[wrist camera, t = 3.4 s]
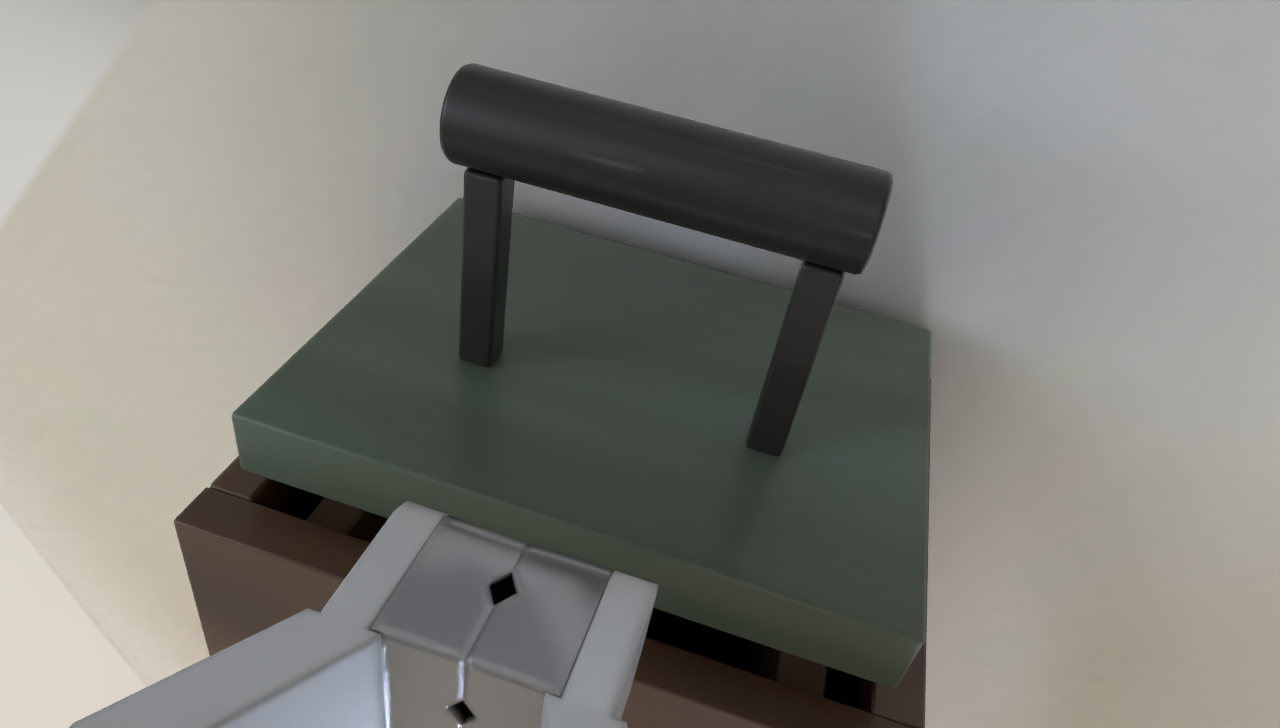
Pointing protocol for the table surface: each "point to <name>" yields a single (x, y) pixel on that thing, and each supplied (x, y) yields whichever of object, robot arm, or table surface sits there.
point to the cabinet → (322, 558)
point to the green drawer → (636, 384)
